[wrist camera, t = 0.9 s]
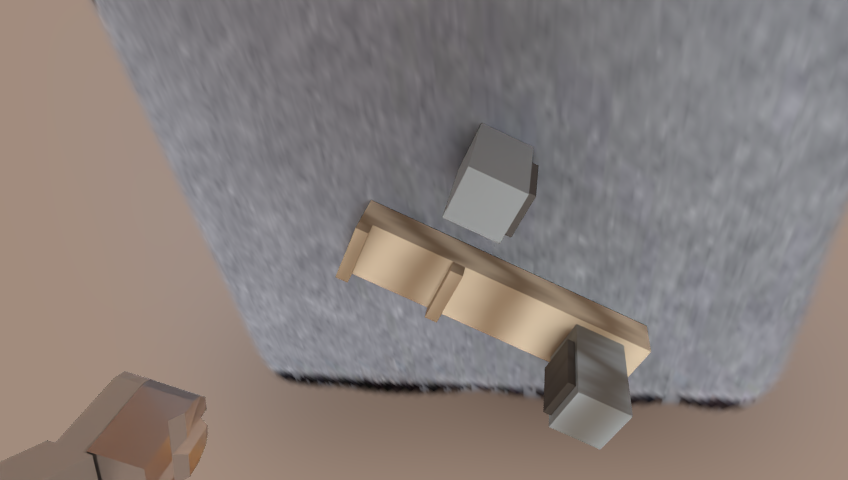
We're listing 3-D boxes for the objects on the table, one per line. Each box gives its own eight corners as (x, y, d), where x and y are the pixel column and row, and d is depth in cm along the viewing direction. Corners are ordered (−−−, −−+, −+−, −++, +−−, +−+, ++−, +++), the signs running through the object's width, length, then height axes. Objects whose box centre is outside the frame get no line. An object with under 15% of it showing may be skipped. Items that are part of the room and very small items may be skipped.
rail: (351, 247, 49) (308, 326, 41) (371, 200, 47) (329, 274, 38) (612, 365, 51) (621, 464, 42) (646, 325, 48) (663, 424, 40)
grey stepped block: (458, 169, 44) (442, 217, 38) (481, 122, 42) (468, 166, 36) (515, 195, 44) (507, 247, 38) (541, 151, 42) (538, 198, 36)
